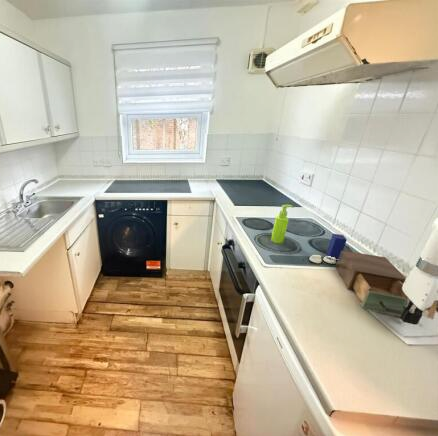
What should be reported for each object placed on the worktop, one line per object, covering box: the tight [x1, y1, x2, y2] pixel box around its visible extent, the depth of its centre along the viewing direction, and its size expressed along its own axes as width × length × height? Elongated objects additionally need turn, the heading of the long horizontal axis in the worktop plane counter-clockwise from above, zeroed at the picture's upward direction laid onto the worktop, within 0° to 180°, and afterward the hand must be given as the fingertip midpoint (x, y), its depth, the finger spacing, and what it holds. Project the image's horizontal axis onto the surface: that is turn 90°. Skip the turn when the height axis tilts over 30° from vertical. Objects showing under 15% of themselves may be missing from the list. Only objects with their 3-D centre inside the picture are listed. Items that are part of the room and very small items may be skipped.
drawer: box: [352, 273, 407, 318], centre depth 80 cm, size 19×13×7 cm
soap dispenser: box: [270, 204, 294, 244], centre depth 122 cm, size 6×7×20 cm
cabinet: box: [334, 250, 407, 292], centre depth 92 cm, size 16×15×9 cm
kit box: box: [325, 233, 348, 259], centre depth 108 cm, size 4×5×11 cm
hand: (407, 321), depth 68 cm, fingers closed
